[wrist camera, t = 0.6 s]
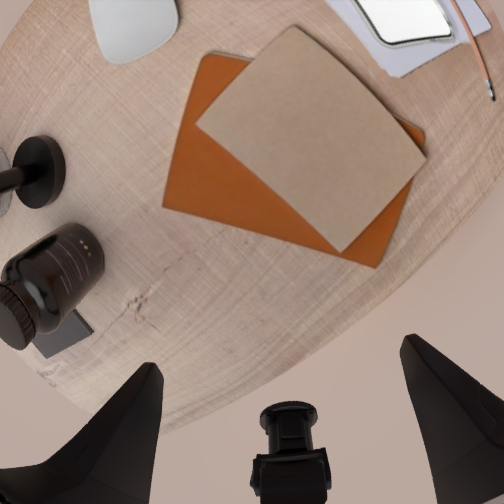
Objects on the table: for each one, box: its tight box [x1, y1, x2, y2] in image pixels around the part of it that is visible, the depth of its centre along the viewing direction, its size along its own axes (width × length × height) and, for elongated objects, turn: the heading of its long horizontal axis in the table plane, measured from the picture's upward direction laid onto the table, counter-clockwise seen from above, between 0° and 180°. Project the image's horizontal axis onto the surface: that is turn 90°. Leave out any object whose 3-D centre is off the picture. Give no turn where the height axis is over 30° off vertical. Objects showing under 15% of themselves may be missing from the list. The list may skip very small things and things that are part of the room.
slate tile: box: [31, 309, 93, 359], centre depth 27 cm, size 9×14×1 cm, turn 120°
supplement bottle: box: [0, 224, 103, 350], centre depth 18 cm, size 7×7×12 cm
